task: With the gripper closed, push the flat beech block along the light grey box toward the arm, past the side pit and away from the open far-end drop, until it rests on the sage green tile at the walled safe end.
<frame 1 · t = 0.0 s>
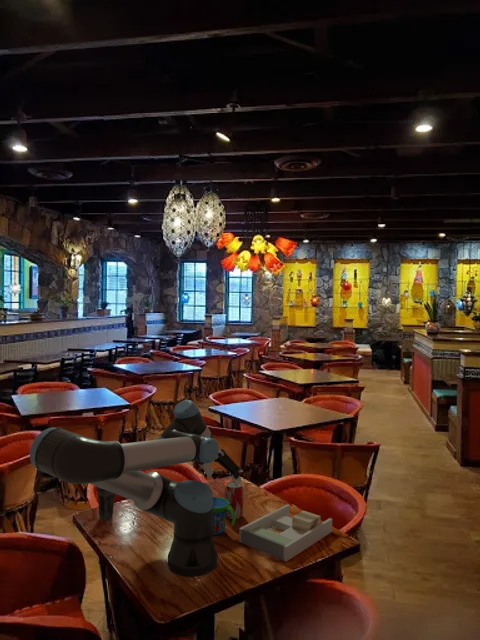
hand: (224, 478, 179), 15 cm above the table, tool tilted 35°, fingers open, 13 cm apart
soda can: (233, 517, 183), on the table
beech block: (306, 527, 169), point 2 cm above the table, touching trap box
snack cup: (213, 531, 171), on the table
beverage cup: (105, 518, 179), on the table
trap box: (286, 536, 168), on the table
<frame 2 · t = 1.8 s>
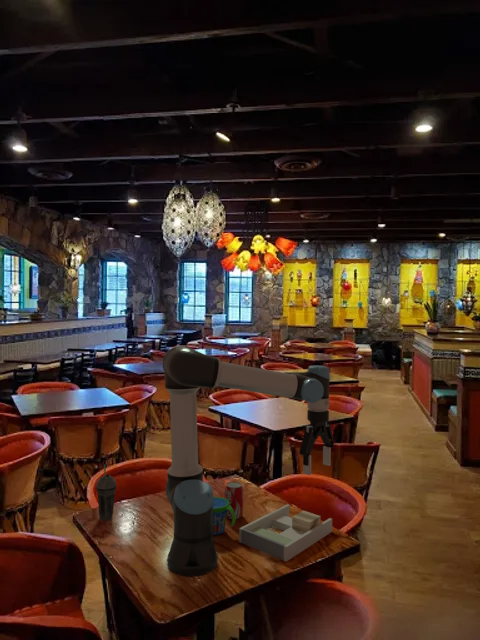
hand: (317, 469, 175), 21 cm above the table, tool pointing down, fingers open, 13 cm apart
nothing on the table moved.
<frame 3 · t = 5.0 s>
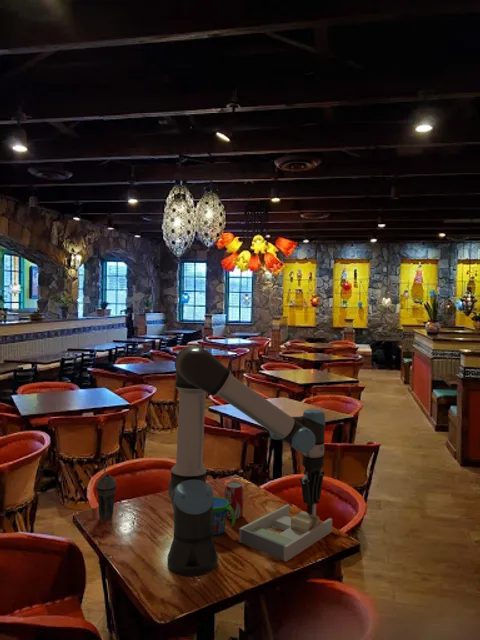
hand: (311, 521, 172), 4 cm above the table, tool pointing down, fingers closed
nothing on the table moved.
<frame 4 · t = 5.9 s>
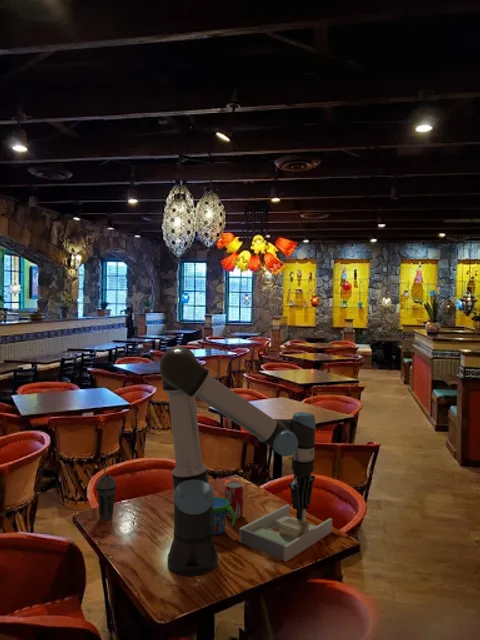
hand: (300, 527, 167), 3 cm above the table, tool pointing down, fingers closed
beech block: (294, 534, 164), point 3 cm above the table, touching gripper, trap box
everything else where it was.
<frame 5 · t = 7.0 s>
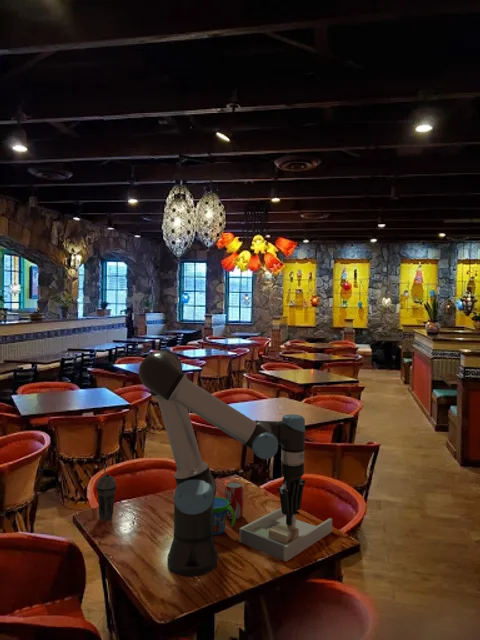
hand: (290, 533, 162), 4 cm above the table, tool pointing down, fingers closed
beech block: (283, 541, 159), point 3 cm above the table, touching gripper
everything else where it was.
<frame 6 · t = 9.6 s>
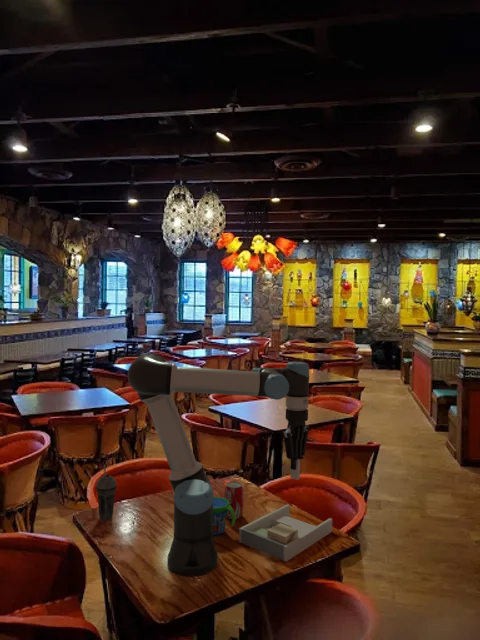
hand: (295, 478, 165), 21 cm above the table, tool pointing down, fingers closed
beech block: (282, 542, 158), point 2 cm above the table, touching trap box
everything else where it was.
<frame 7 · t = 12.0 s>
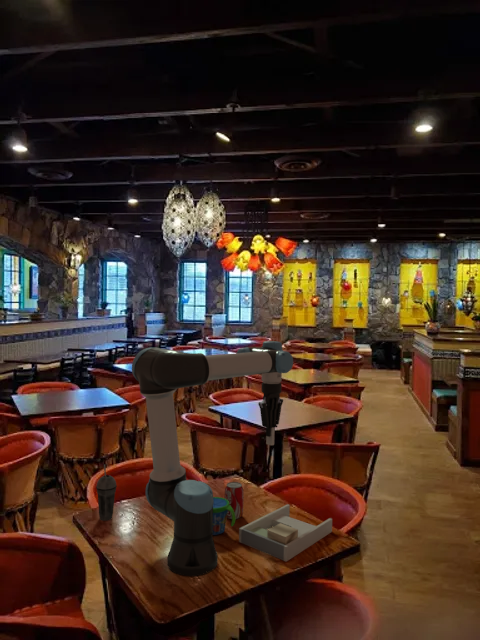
hand: (270, 444, 186), 26 cm above the table, tool pointing down, fingers closed
nothing on the table moved.
at the end: beech block inside the target area on the trap box (0.8 cm from its centre), point 2.5 cm above the trap box's base; beech block tilted 0° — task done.
